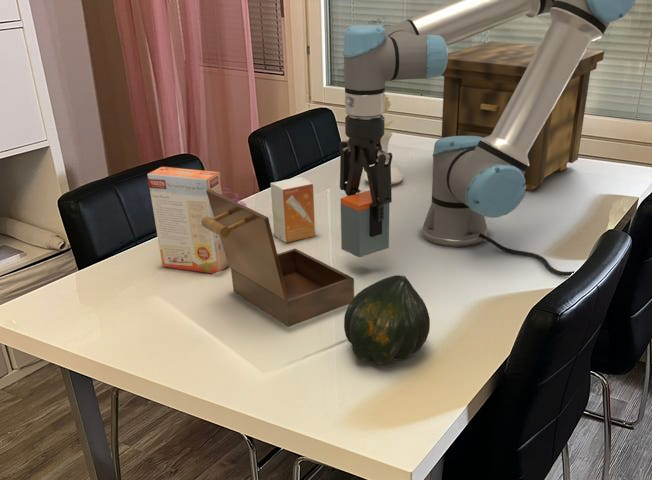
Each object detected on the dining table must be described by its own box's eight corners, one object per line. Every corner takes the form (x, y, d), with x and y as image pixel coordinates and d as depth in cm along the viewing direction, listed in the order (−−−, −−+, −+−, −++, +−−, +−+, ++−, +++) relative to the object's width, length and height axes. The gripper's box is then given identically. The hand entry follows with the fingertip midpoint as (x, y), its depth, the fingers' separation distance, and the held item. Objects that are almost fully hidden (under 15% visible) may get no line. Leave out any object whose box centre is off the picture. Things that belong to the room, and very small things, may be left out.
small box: (286, 243, 169) (282, 189, 162) (273, 235, 173) (269, 182, 166) (316, 236, 172) (313, 183, 166) (303, 228, 177) (300, 176, 170)
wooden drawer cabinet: (586, 166, 219) (604, 50, 202) (540, 198, 195) (556, 69, 178) (483, 149, 237) (491, 41, 220) (428, 176, 212) (433, 57, 195)
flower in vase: (410, 180, 209) (412, 90, 196) (390, 191, 201) (391, 97, 188) (372, 173, 215) (372, 85, 202) (351, 183, 207) (349, 92, 194)
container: (370, 239, 155) (370, 189, 150) (389, 247, 151) (389, 197, 146) (341, 249, 151) (340, 198, 145) (359, 257, 147) (359, 205, 141)
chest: (296, 273, 155) (295, 248, 152) (354, 305, 142) (354, 278, 139) (233, 294, 146) (230, 268, 143) (289, 330, 133) (287, 302, 130)
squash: (315, 332, 121) (370, 281, 112) (352, 298, 133) (405, 249, 124) (372, 394, 122) (431, 348, 113) (404, 355, 134) (460, 310, 125)
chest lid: (209, 188, 133) (179, 202, 130) (268, 217, 120) (236, 232, 117) (232, 265, 143) (205, 279, 140) (288, 299, 130) (260, 314, 127)
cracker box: (231, 264, 159) (221, 170, 148) (218, 275, 154) (206, 179, 143) (176, 256, 163) (162, 164, 152) (161, 267, 158) (145, 172, 147)
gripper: (319, 109, 141) (323, 221, 153) (382, 127, 129) (381, 248, 141) (348, 104, 145) (350, 214, 157) (413, 121, 133) (409, 239, 145)
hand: (365, 230), depth 149 cm, fingers closed on container, 6 cm apart
